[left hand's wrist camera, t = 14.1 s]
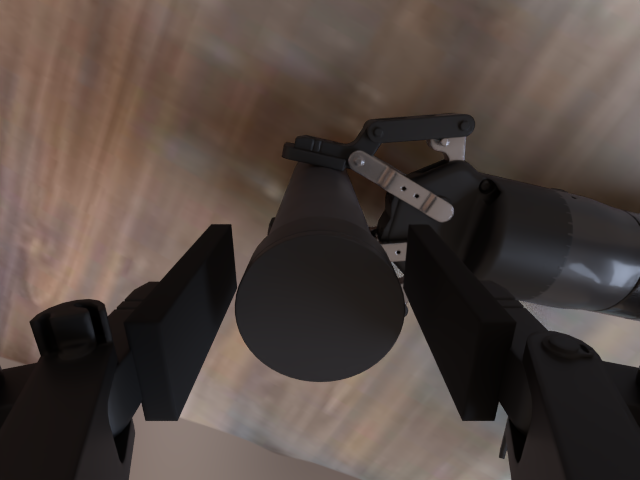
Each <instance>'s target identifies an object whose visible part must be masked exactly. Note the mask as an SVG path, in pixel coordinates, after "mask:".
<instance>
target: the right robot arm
mask: <svg viewBox="0 0 640 480" xmlns="http://www.w3.org/2000/svg"><path fill="white" fill-rule="evenodd" d="M474 127H475V121H474V119H473V117H472V116H470V115H467V114H454V113H447V114H434V115H421V116H408V117H395V118H381V119H370V120H368V121H367V122H366V123H365V124H364V126H363V129H362V130H361V132H360V133H359V135H358V137H357V138H356V139H355V140H354V141H353V142H351V143H349V144H343V143H338V142H334V141H330V140H325V139H321V138H317V137H312V136H308V135H303V136H297V137H296V140H295V144H294V143H288V142H286V143H285V144H284V148H283V153H282V157H283V158H286V159H290V160H294V161H299V162H303V163H308V164H312V165H316V166H321V167H326V168H330V169H334V170H339V171H343V172H344V168H349V169H352V170H353V171H355V172H357V173H359V174H360V175H362V176H364V177H365V178H367V179H369V180H371V181H372V182H374V183H376V184H377V185H379V186H380V187H381V188H383V189H384V190H386V191H387V194H386V197H385V211H384V212H383V214H382V216H381V217H380V219H379V221H378V225H377V227H369V230H370V233H371V235H372V236H373V237H374V238H375V239H376V240H377V241H378V242H379V243H380V244H381V245H382V247H383V248H384V250H385V251H386V253H387V255H388V257H389V259H390V261H391V262H393V263H394V264H395V265H396V266H397V267H398V268H399V269H400V271H401V272H402V273H403V274H404V271H405V260H406V249H407V238H408V227H409V224H429V225H430V226H431V228H432V229H433V230H434V231H435V232H436V233H437V234H438V235H439V236H440V238H441V239H442V240H443V241H444V242H445V243H446V244H447V245H448V246H449V248H450V249H451V250H452V251H453V252H454V253H455V254H456V255H457V256H458V258H459V259H460V260H461V261H462V262H463V263H464V264H465V265H466V267H467V268H468V269H469V270H470V271H471V272H472V273H473V274H474V275H475V277H476V278H477V279H478V280H479V281H493V282H495V283H496V284H498V285H500V286H502V287H504V288H506V289H507V290H508V291H509V292H510V293H511V294H512V295H513V296H514V297H515V299H516V300H519V301H524V302H529V303H534V304H539V305H544V306H549V307H554V308H563V309H580V310H587V311H592V312H596V313H601V314H606V315H611V316H616V317H621V318H626V319H631V320H636V321H640V214H639V213H635V212H630V211H626V210H621V209H617V208H614V207H611V206H608V205H606V204H603V203H601V202H598V201H596V200H593V199H590V198H587V197H583V196H579V195H574V194H570V193H568V192H566V191H564V190H561V189H553V188H551V189H549V188H545V187H540V186H536V185H531V184H527V183H523V182H518V181H514V180H510V179H506V178H501V177H497V176H493V175H488V174H484V173H480V172H478V171H476V170H475V169H474V168H473V167H472V166H471V165H470V164H469V163H467V162H465V147H466V136H468V135H470V134H471V133H472V132H473V130H474ZM416 140H426V142H427V145H428V146H429V147H430V148H431V149H434V150H436V151H441V152H442V153H443V154H444V160H441V161H439V162H437V163H434V164H432V165H429V166H427V167H425V168H422V169H420V170H417V171H415V172H413V173H410V174H408V175H406V174H405V173H403V172H401V171H400V170H398V169H396V168H395V167H393V166H391V165H390V164H388V163H386V162H384V161H382V160H381V159H379V158H377V157H376V156H374V154H375V152H376V151H377V149H378V148H379V146H380V145H381V143H389V142H403V141H416ZM275 218H276V217H273V218H272V219H271V221H270V224H269V229H268V234H267V235H269V233H270V230H271V228H272V225H273V223H274V220H275ZM398 279H399V282H400V284H401V287H402V290H403V294H404V300H405V316H406V315H407V313H408V308H407V306H406V303H407V302H408V298H407V296H406V294H405V292H404V289H403V281H404V276H403V277H401V278H398ZM405 316H404V317H405Z"/></svg>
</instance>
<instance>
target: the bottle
mask: <svg viewBox="0 0 640 480" xmlns="http://www.w3.org/2000/svg"><path fill="white" fill-rule="evenodd" d="M317 216H323V217H333V218H338V219H342V220H345V221H349V222H351V223H353V224H355V225H358V226H360V227H361V228H363V229H364V230H366V231H367V232H369V233H370V230H369V227H368V225H367V222H366V220H365V217H364V215H363V212H362V209H361V207H360V204H359V202H358V199H357V197H356V194H355V191H354V189H353V186H352V184H351V181H350V179H349V176H348V174H347V171H346V168H344V172H343V171H339V170H334V169H330V168H326V167H321V166H316V165H312V164H308V163H303V162H298V163H297V165H296V167H295V169H294V172H293V174H292V177H291V179H290V182H289V184H288V187H287V190H286V192H285V195H284V197H283V200H282V202H281V205H280V207H279V210H278V213H277V215H276V218H275V220H274V223H273V225H272V228H271V230H270V233H271V232H273V231H274V230H276V229H277V228H279V227H280V226H283V225H285V224H287V223H289V222H292V221H295V220H298V219H302V218H307V217H317ZM270 233H269V234H270ZM370 234H371V233H370Z"/></svg>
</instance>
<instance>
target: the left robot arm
mask: <svg viewBox="0 0 640 480" xmlns="http://www.w3.org/2000/svg"><path fill="white" fill-rule="evenodd" d="M236 289H237V281H236V270H235V260H234V249H233V238H232V227H231V224H211V225H210V226H209V228H208V229H207V230H206V231H205V232H204V233H203V234H202V235H201V236H200V238H199V239H198V240H197V241H196V242H195V243H194V244H193V245H192V246H191V248H190V249H189V250H188V251H187V252H186V253H185V254H184V255H183V256H182V258H181V259H180V260H179V261H178V262H177V263H176V264H175V265H174V267H173V268H172V269H171V270H170V271H169V272H168V273H167V274H166V275H165V277H164V278H163V279H162V280H161V281H160V282H148V283H146V284H144V285H142V286H141V287H139V288H137V289H135V290H134V291H133V292H132V293H131V294H130V295H129V296H128V297H127V298H126V299H125V301H123V302H122V303H121V304H120V305H119V306H118V307H117V310H114V311H113V312H112V313H111V314H110V315H109V316H107V312H106V308H105V304H103V303H102V302H100V301H98V300H92V299H84V300H74V301H70V302H65V303H62V304H59V305H56V306H53V307H51V308H48V309H46V310H45V311H43V312H41V313H39V314H37V315H36V316H35V317H34V318H33V319H32V320H31V321H30V325H31V328H32V331H33V334H34V337H35V340H36V343H37V346H38V349H39V352H40V355H41V357H40V359H39V360H38V362H37V363H33V364H28V365H23V366H18V367H13V368H8V369H1V367H0V480H129V473H130V466H131V459H132V452H133V445H134V438H135V429H134V424H133V419H132V417H133V415H134V414H135V412H136V410H137V409H138V407H139V405H140V404H141V403H142V407H143V412H144V416H145V420H146V421H178V419H179V416H180V414H181V412H182V410H183V408H184V405H185V403H186V401H187V399H188V396H189V394H190V392H191V390H192V387H193V385H194V383H195V381H196V379H197V376H198V374H199V372H200V370H201V367H202V365H203V363H204V361H205V358H206V356H207V354H208V352H209V350H210V347H211V345H212V343H213V341H214V338H215V336H216V334H217V332H218V330H219V327H220V325H221V323H222V321H223V318H224V316H225V314H226V312H227V309H228V307H229V305H230V303H231V301H232V298H233V296H234V294H235V292H236ZM403 289H404V292H405V294H406V296H407V298H408V301H409V303H410V305H411V307H412V309H413V312H414V314H415V316H416V318H417V321H418V323H419V325H420V327H421V330H422V332H423V334H424V336H425V338H426V341H427V343H428V345H429V347H430V350H431V352H432V354H433V356H434V358H435V361H436V363H437V365H438V367H439V370H440V372H441V374H442V376H443V379H444V381H445V383H446V385H447V387H448V390H449V392H450V394H451V396H452V399H453V401H454V403H455V405H456V408H457V410H458V412H459V414H460V416H461V419H462V421H495V416H496V412H497V407H498V403H499V402H500V403H501V405H502V407H503V408H504V410H505V412H506V413H507V415H508V419H507V424H506V428H505V432H504V436H503V440H502V444H501V448H500V454H499V458H502V459H504V458H505V454H506V451H508V458H509V465H510V472H511V479H512V480H640V366H639V368H636V367H631V366H626V365H621V364H616V363H610V362H605V361H602V360H601V358H600V356H599V355H598V354H597V353H596V351H595V350H594V349H593V348H592V347H590V346H589V345H587V344H586V343H584V342H583V341H581V340H579V339H577V338H574V337H572V336H570V335H567V334H563V333H559V332H555V331H548V330H547V329H546V328H545V327H544V326H543V325H542V324H541V323H540V322H539V321H538V320H537V319H536V318H535V317H534V316H533V315H532V314H531V313H530V312H529V311H528V310H527V309H526V308H524V307H523V305H522V304H521V303H520V302H519V301H518V300H516V299H515V297H514V296H513V295H512V294H511V293H510V292H509V291H508V290H507V289H506V288H504V287H502V286H500V285H498V284H496V283H495V282H493V281H479V280H478V279H477V278H476V277H475V275H474V274H473V273H472V272H471V271H470V270H469V269H468V268H467V267H466V265H465V264H464V263H463V262H462V261H461V260H460V259H459V258H458V256H457V255H456V254H455V253H454V252H453V251H452V250H451V249H450V248H449V246H448V245H447V244H446V243H445V242H444V241H443V240H442V239H441V238H440V236H439V235H438V234H437V233H436V232H435V231H434V230H433V229H432V228H431V226H430V225H429V224H409V227H408V238H407V249H406V260H405V271H404V281H403Z"/></svg>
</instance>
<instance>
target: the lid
mask: <svg viewBox="0 0 640 480" xmlns="http://www.w3.org/2000/svg"><path fill="white" fill-rule="evenodd" d="M235 316H236V322H237V326H238V329H239V332H240V334H241V336H242V338H243V340H244V342H245V344H246V345H247V346H248V348H249V349H250V351H251V352H252V353H253V354H254V355H255V356H256V357H257V358H258V359H259V360H260V361H261V362H263V363H264V364H265V365H267V366H268V367H270V368H271V369H273V370H275V371H277V372H279V373H280V374H283V375H286V376H288V377H291V378H295V379H299V380H304V381H311V382H329V381H336V380H342V379H345V378H349V377H352V376H354V375H357V374H360V373H362V372H363V371H365V370H367V369H369V368H370V367H372V366H373V365H375V364H376V363H378V362H379V361H380V360H381V359H382V358H383V357H384V356H385V355H386V354H387V353H388V352H389V351H390V349H391V348H392V347H393V345H394V344H395V342H396V340H397V338H398V336H399V334H400V332H401V329H402V326H403V322H404V316H405V300H404V294H403V290H402V287H401V284H400V282H399V279H398V277H397V275H396V273H395V270H394V268H393V266H392V264H391V261H390V259H389V257H388V255H387V253H386V251H385V250H384V248H383V247H382V245H381V244H380V243H379V242H378V241H377V240H376V239H375V238H374V237H373V236H372V235H371V234H370V233H369V232H367V231H366V230H364V229H363V228H361V227H360V226H358V225H355V224H353V223H351V222H349V221H345V220H342V219H338V218H333V217H323V216H317V217H307V218H302V219H298V220H295V221H292V222H289V223H287V224H285V225H283V226H280V227H279V228H277V229H276V230H274V231H273V232H271V233H270V234H269V235H268V236H267V237H266V238H265V239H264V240H263V241H262V242H261V243H260V244H259V245H258V247H257V248H256V250H255V252H254V253H253V255H252V257H251V259H250V262H249V264H248V266H247V268H246V271H245V273H244V275H243V277H242V280H241V282H240V284H239V287H238V290H237V294H236V300H235Z"/></svg>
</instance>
